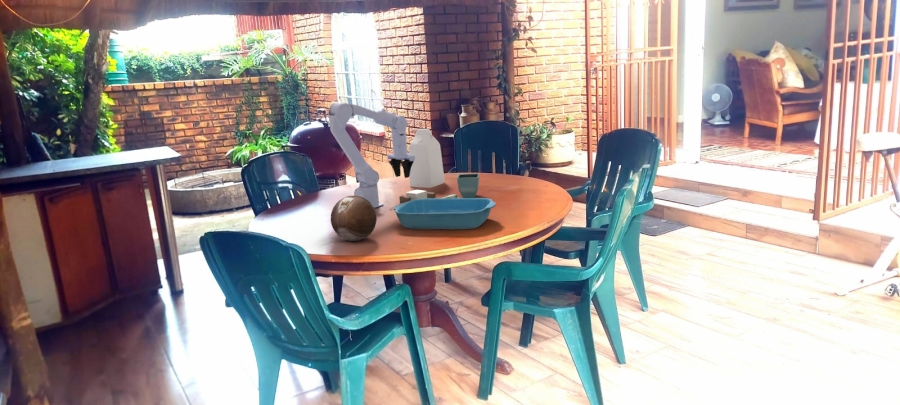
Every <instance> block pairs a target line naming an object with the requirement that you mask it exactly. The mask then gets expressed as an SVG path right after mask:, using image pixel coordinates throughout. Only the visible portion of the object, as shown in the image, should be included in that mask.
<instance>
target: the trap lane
mask: <svg viewBox="0 0 900 405" xmlns="http://www.w3.org/2000/svg"><path fill="white" fill-rule="evenodd" d="M436 195H437V194H436V192H431V191H427V198H437V197H436ZM398 198H399V204H401V203H405V202H408V201H411V197H406V195H401V196H399V197H398ZM441 198H461V196H460V197H459V196H458V194H455V193H453V194H447V195H446V196H443V197H441Z"/></svg>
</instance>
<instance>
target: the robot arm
mask: <svg viewBox="0 0 900 405" xmlns="http://www.w3.org/2000/svg"><path fill="white" fill-rule="evenodd" d="M327 116H328V119H329V129H330V132H331V134H332V135H333V137H334V138H335V140H336V143H338V144H339V146H340V148H341V150H342V151H343V153H344V154H345V156H346V157H347V159H348V160H349V162H350V163H351V165H352V167H353V171H354V173H355V176H356V177H355V178H356V180H357V181H358V182H359V183H358V184H359V185H358V186H359V187H356V188H355V189H354V192H353V196H360V197H363V198H365V199H367V200H368V201H369V202H370V203H371V204H372V205H373V207H374V209H375V208H378V207H381V206H384V205H385V204H384V203H380V200H379V199H380V198H379V187H378V183H379V181H380V174H379V173H378V171H377V170H375V169H374V168H372V166H371V165H370V164H369V163H368V162H367V161H366V159H365V158H364V156H363V155H362V153H361V152H360V150H359V148H358V147H357V146H356V144H355V142H354V141H353V140H352V138H351V136H350V135H349V133H348V132H347V130H346V128H347V123H348V122H349V121H350V119H351V118H352V117H355V116H361V117H365V118H368V119H372V120H373V121H374V123H375V124H377V125H381V126H384V127H387V128H389V129H391V137H392V138H391V139H392V150H393V153H390V154H389V153H387V157H386V158H387V160H389V161H388V163H389V165H390V166H391V169H392V170H393V173H394V175H395V177H396V178H398V177H401V168H402V169H403V176H404V178H405V179H407V178H410V170H411V167H412V164H413V162H414V160H415V156H413V155H409V153H408V144H407V131H406V128H407V127H408V125H409V124H408V123H409V122H408V121H407V118H405V116H402V115H397V113H396V112H389V111H387V109H384V108H381V109H377V110H376V111H375V110H372V109H369V108H366V107H365V106H361V105H358V104H354V103H347V102H333V103H332V104H331V105H330V106H329V108H328V112H327ZM401 166H402V167H401Z"/></svg>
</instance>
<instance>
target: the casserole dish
mask: <svg viewBox="0 0 900 405" xmlns="http://www.w3.org/2000/svg"><path fill="white" fill-rule="evenodd" d="M496 205H497V202H495V201H493V199H491V198H487V197H486V198H485V197H474V198H463V197H460V198H442V197H436V198H427V199H415V200H411V201H408V202H405V203H401V204H400V203H399V204H396V205H395V206H394V207H393V211H394V212H395V214H396V218H397V219H398V221H399V222H400V224H401V225H402V227H404V228H406V229H412V230H470V229H477V228H479V227H480V226H481V225H482V224H484V223H485V221H486V220H488V218H489V216H490V214H491V210H492V209H493V208H495V207H496Z"/></svg>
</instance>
